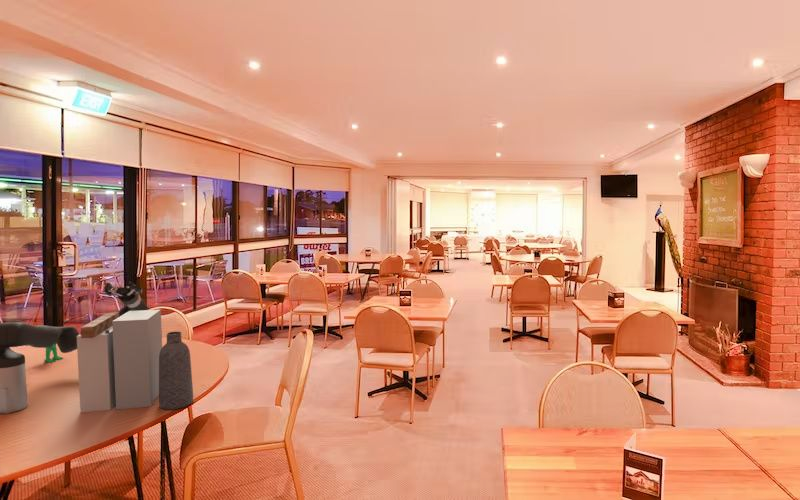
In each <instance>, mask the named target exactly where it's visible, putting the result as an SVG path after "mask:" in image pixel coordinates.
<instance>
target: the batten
mask: <svg viewBox="0 0 800 500" xmlns="http://www.w3.org/2000/svg"><path fill="white" fill-rule="evenodd" d="M118 317H119V312H117V311H111V312H107V313H105V314H103V315H101V316H100V317H99V316H98V318H96V319H94V320H92V321H90V322H88V323H86V324H85V325H83V326H81V327H80V332H81V338H94V337H96V336H97V335H99V334H100V333H102V332H103V331H105V330H107V329H108V328H110V327H111V326H112V321H113V320H115V319H117V318H118Z"/></svg>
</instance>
